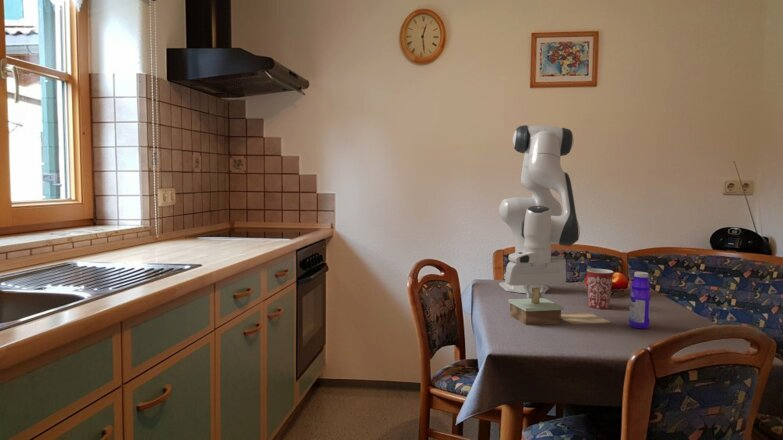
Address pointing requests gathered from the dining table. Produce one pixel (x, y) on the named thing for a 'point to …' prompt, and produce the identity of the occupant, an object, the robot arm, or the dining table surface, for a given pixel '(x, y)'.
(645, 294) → the bottle
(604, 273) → the mug
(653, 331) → the dining table surface
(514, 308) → the box
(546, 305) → the lid
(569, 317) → the mat
